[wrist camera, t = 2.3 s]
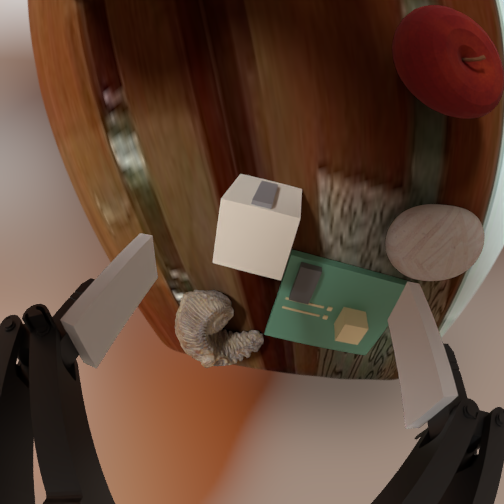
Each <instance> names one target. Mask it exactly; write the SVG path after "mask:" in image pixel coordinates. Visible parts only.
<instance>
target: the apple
mask: <svg viewBox="0 0 504 504" xmlns="http://www.w3.org/2000/svg"><path fill="white" fill-rule="evenodd" d="M392 53H393V61H394V64H395V68H396V70H397V73H398V75H399V77H400V79H401V80H402V82H403V83H404V85H405V86H406V87H407V88H408V89H409V91H410V92H411V93H412V94H413V95H414V96H415V97H416V98H417V99H418V100H420V101H421V102H422V103H423V104H425V105H426V106H428V107H430V108H431V109H433V110H435V111H437V112H439V113H442V114H444V115H447V116H452V117H457V118H461V119H465V118H478V117H482V116H484V115H486V114H488V113H489V112H491V111H492V110H493V109H494V108H495V107H496V106H497V105H498V103H499V101H500V99H501V97H502V94H503V90H504V71H503V66H502V62H501V59H500V56H499V53H498V51H497V49H496V47H495V45H494V43H493V42H492V40H491V39H490V37H489V36H488V35H487V33H486V32H485V31H484V30H483V29H482V28H481V27H480V26H479V25H478V24H477V23H476V22H474V21H473V20H472V19H471V18H469V17H468V16H466V15H464V14H463V13H461V12H458V11H456V10H454V9H451V8H449V7H445V6H440V5H429V6H423V7H420V8H417V9H415V10H413V11H412V12H411V13H409V14H408V15H407V16H406V17H404V18H403V20H402V21H401V23H400V24H399V26H398V28H397V29H396V31H395V35H394V38H393V44H392Z"/></svg>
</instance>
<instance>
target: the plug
mask: <svg viewBox="0 0 504 504" xmlns="http://www.w3.org/2000/svg"><path fill="white" fill-rule="evenodd" d="M301 201H302V189H300V188H296V187H293V186H289V185H285V184H281V183H277V182H273V181H269V180H265V179H261V178H257V177H252V176H248V175H244V174H240V175H239V176H238V178H237V179H236V180H235V181H234V183H233V184H232V185H231V187H230V188H229V189H228V190H227V192H226V193H225V194H224V196H223V197H222V198H221V203H220V210H219V217H218V224H217V232H216V239H215V247H214V255H213V263H215V264H219V265H223V266H227V267H230V268H234V269H238V270H242V271H245V272H249V273H253V274H257V275H261V276H264V277H268V278H272V279H276V280H280V281H281V279H282V276H283V273H284V270H285V267H286V263H287V260H288V257H289V254H290V251H291V248H292V245H293V241H294V238H295V235H296V232H297V228H298V225H299V222H300V219H301Z"/></svg>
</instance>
